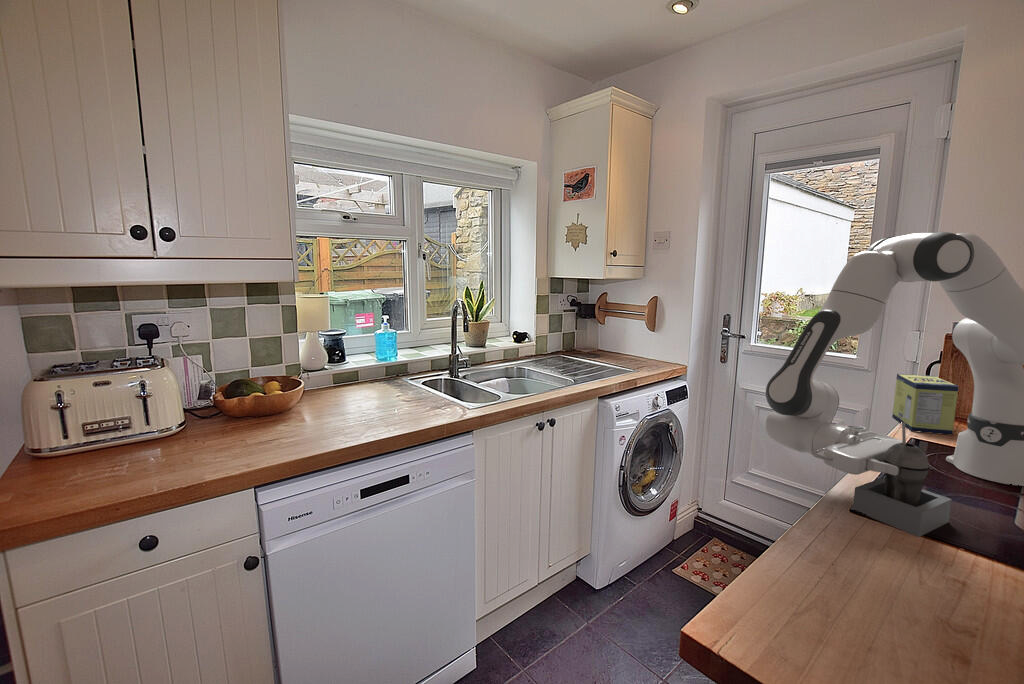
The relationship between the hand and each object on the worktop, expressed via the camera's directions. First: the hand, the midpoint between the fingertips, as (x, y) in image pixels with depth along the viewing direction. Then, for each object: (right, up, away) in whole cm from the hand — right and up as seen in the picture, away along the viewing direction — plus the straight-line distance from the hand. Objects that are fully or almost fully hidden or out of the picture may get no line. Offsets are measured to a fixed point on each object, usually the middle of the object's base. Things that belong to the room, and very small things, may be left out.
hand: (910, 467), depth 92 cm
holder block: (0, -11, +2) cm, 11 cm away
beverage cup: (0, -11, +2) cm, 11 cm away
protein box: (+52, -2, +57) cm, 77 cm away
